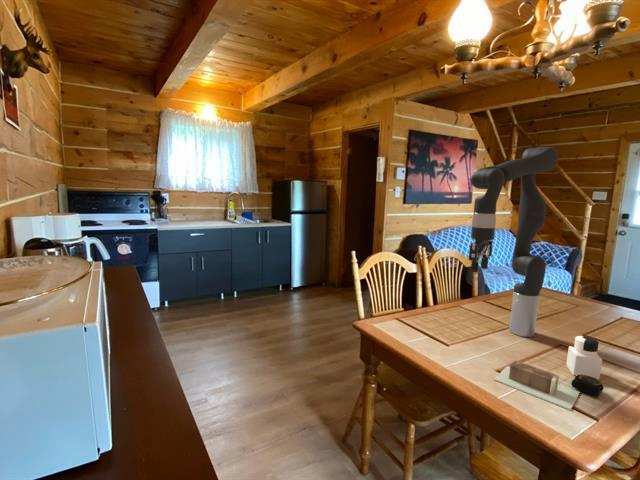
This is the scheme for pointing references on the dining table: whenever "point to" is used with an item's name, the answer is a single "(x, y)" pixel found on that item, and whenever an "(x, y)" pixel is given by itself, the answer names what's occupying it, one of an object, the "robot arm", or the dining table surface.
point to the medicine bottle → (584, 357)
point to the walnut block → (534, 377)
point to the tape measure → (587, 385)
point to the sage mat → (561, 398)
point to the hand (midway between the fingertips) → (479, 270)
